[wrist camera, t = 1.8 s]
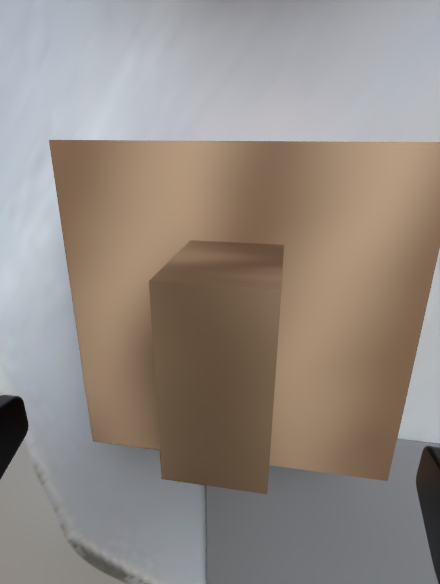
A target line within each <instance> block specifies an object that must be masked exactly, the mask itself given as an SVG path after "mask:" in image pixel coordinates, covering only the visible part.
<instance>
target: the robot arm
mask: <svg viewBox="0 0 440 584" xmlns="http://www.w3.org/2000/svg"><path fill="white" fill-rule="evenodd" d="M27 431H28V420H27V415H26V411H25V406H24V402H23V400H22V398H21V397H19V396H12V395H2V396H0V479H1V477H2V476H3V474H4V472H5V470H6V469H7V467H8V465H9V464H10V462H11V460H12V458H13V457H14V455H15V453H16V451H17V450H18V448H19V446H20V444H21V443H22V441H23V439H24V438H25V436H26V434H27ZM416 488H417V493H418V498H419V502H420V507H421V512H422V516H423V521H424V526H425V530H426V535H427V540H428V544H429V549H430V554H431V558H432V562H433V566H434V570H435V574H436V577H437V580H438V584H440V447H436V446H426V447H424V449H423V451H422V455H421V459H420V463H419V467H418V471H417V475H416Z"/></svg>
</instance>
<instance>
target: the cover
mask: <svg viewBox="0 0 440 584" xmlns="http://www.w3.org/2000/svg"><path fill="white" fill-rule="evenodd" d="M49 143H50V150H51V157H52V164H53V170H54V177H55V184H56V191H57V198H58V205H59V212H60V218H61V225H62V232H63V239H64V246H65V253H66V259H67V266H68V273H69V280H70V287H71V294H72V301H73V307H74V314H75V321H76V328H77V335H78V342H79V348H80V355H81V362H82V369H83V376H84V383H85V389H86V396H87V403H88V410H89V417H90V424H91V431H92V437H93V441H95V442H103V443H110V444H118V445H125V446H132V447H140V448H147V449H154V450H160V459H161V474H162V479H166V480H173V481H180V482H187V483H193V484H200V485H207V486H214V487H220V488H227V489H234V490H241V491H247V492H254V493H261V494H267V491H268V477H269V465H272V466H279V467H287V468H294V469H302V470H309V471H316V472H324V473H331V474H338V475H346V476H353V477H360V478H368V479H375V480H382V481H388V478H389V473H390V469H391V464H392V460H393V455H394V450H395V446H396V441H397V437H398V432H399V428H400V423H401V419H402V414H403V410H404V405H405V401H406V396H407V392H408V387H409V383H410V378H411V374H412V369H413V365H414V360H415V356H416V351H417V347H418V342H419V338H420V333H421V329H422V324H423V320H424V315H425V311H426V306H427V302H428V297H429V293H430V288H431V284H432V279H433V275H434V270H435V266H436V261H437V257H438V252H439V248H440V142H285V141H113V140H49Z"/></svg>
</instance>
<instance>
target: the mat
mask: <svg viewBox="0 0 440 584" xmlns="http://www.w3.org/2000/svg"><path fill="white" fill-rule="evenodd" d="M426 446H436V447H440V444H435V443H426V442H418V441H410V440H401V439H397V441H396V446H395V450H394V455H393V460H392V464H391V469H390V473H389V478H388V481H382V480H375V479H368V478H360V477H353V476H346V475H338V474H331V473H324V472H316V471H309V470H302V469H294V468H287V467H279V466H272V465H269V477H268V491H267V494H261V493H254V492H247V491H241V490H234V489H227V488H220V487H214V486H207V485H206V523H207V584H438V580H437V577H436V574H435V570H434V566H433V562H432V558H431V554H430V549H429V544H428V540H427V535H426V530H425V526H424V521H423V516H422V512H421V507H420V502H419V498H418V493H417V488H416V475H417V471H418V467H419V463H420V459H421V455H422V451H423V449H424V447H426Z"/></svg>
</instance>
